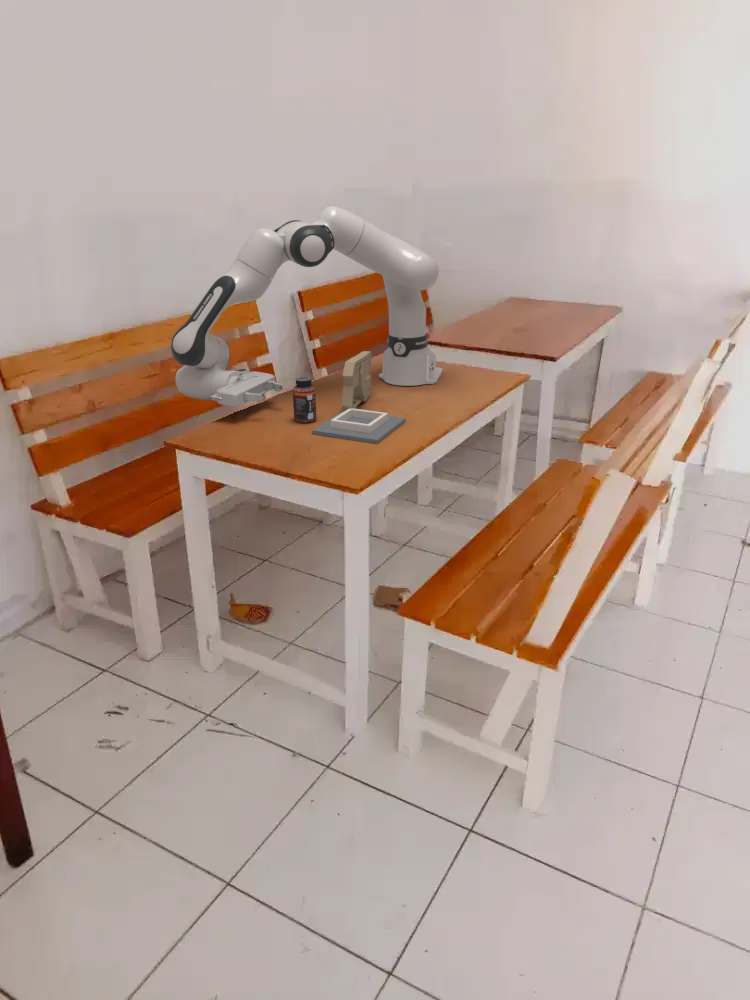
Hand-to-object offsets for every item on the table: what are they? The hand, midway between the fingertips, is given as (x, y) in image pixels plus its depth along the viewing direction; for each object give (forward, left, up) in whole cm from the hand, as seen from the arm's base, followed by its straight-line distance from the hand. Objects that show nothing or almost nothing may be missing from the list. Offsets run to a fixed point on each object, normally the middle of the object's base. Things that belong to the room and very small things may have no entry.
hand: (272, 392), depth 210 cm
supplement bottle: (0, +10, -7) cm, 12 cm away
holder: (0, +26, -6) cm, 27 cm away
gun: (-17, +17, -7) cm, 25 cm away
